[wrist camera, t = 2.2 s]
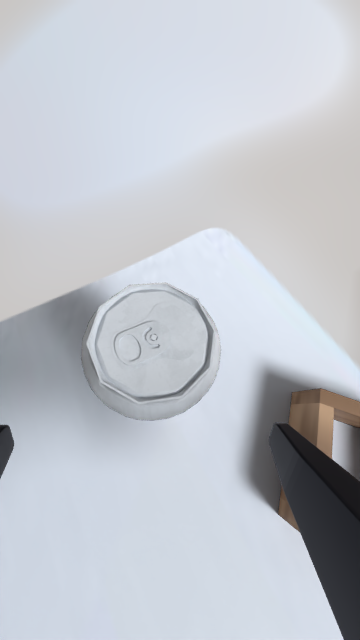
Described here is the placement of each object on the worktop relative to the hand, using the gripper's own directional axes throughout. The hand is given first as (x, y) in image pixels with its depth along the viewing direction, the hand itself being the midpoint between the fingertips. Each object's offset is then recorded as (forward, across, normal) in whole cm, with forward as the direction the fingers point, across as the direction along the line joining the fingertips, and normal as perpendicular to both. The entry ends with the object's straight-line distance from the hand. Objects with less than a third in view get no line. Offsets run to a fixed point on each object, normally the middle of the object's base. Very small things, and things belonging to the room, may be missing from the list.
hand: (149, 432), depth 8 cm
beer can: (+9, 0, +5) cm, 11 cm away
